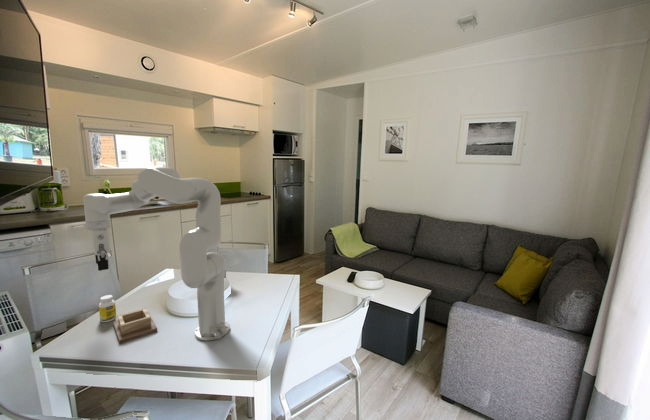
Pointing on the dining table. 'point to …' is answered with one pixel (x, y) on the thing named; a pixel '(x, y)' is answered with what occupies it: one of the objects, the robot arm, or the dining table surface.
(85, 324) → the dining table surface
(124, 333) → the socket board
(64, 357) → the dining table surface
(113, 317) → the supplement bottle
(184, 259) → the robot arm
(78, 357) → the dining table surface
